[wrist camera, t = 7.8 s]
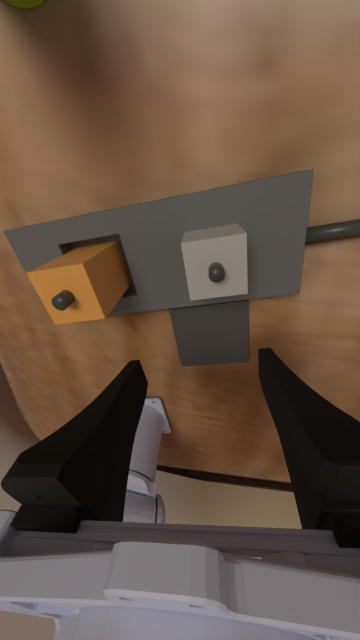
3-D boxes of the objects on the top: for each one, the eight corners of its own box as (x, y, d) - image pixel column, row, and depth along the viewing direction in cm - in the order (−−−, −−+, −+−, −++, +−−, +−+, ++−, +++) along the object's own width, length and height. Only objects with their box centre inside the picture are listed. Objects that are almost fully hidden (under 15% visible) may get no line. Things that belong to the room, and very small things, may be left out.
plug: (94, 287, 22) (46, 332, 15) (78, 247, 20) (14, 278, 13) (132, 281, 21) (99, 326, 14) (119, 239, 19) (74, 268, 12)
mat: (182, 364, 27) (182, 366, 27) (169, 308, 23) (169, 309, 23) (248, 359, 26) (249, 361, 25) (247, 299, 22) (248, 300, 21)
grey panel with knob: (63, 312, 24) (19, 353, 18) (20, 227, 20) (-58, 244, 14) (387, 272, 19) (470, 311, 13) (428, 145, 15) (583, 117, 9)
